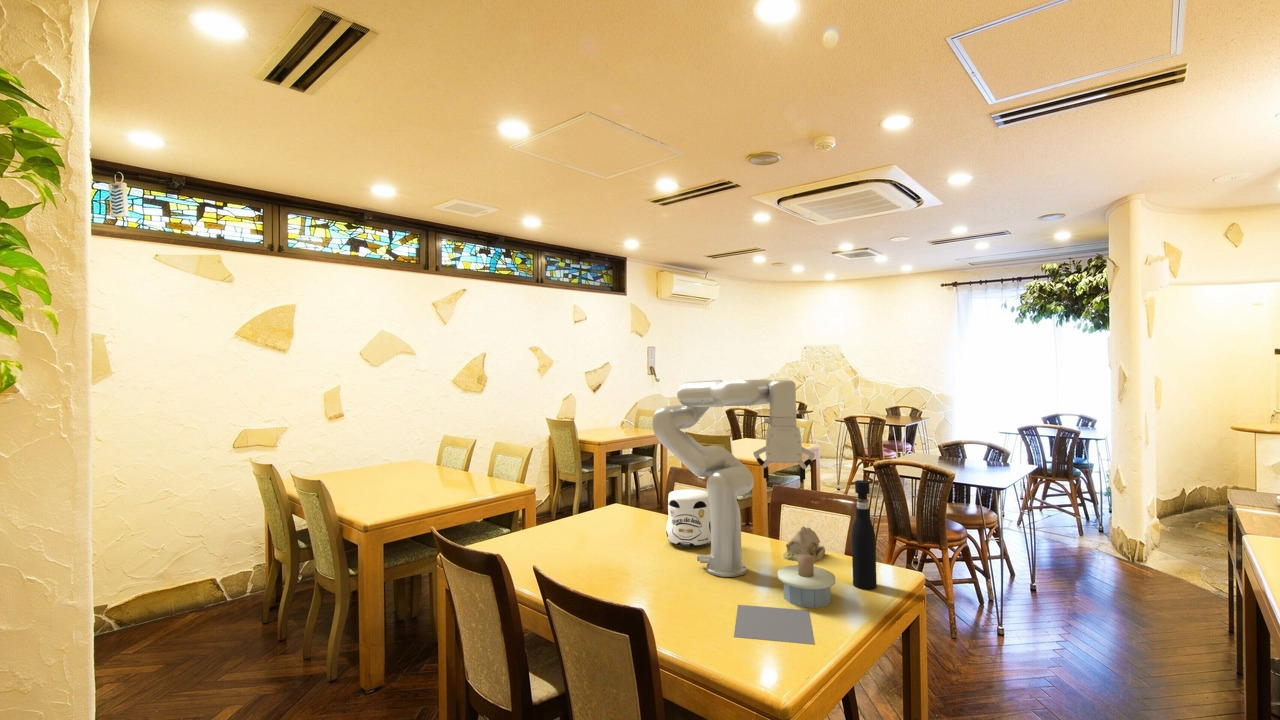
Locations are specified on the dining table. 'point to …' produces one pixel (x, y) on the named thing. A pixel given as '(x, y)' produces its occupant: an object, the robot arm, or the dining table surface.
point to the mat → (774, 624)
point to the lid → (806, 574)
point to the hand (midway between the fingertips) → (784, 481)
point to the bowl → (807, 596)
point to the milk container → (688, 518)
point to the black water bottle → (863, 542)
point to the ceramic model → (804, 545)
